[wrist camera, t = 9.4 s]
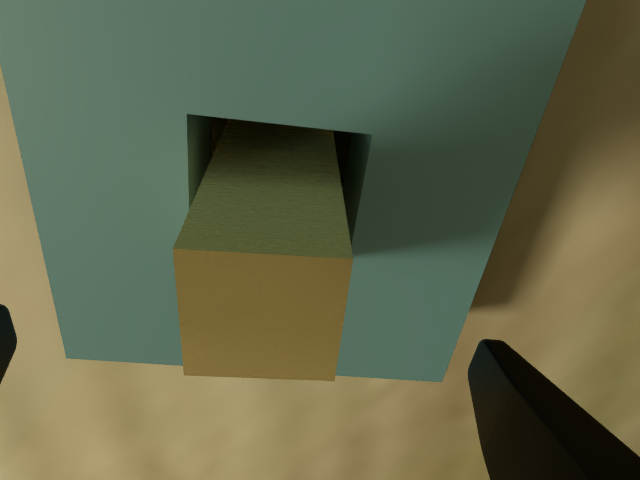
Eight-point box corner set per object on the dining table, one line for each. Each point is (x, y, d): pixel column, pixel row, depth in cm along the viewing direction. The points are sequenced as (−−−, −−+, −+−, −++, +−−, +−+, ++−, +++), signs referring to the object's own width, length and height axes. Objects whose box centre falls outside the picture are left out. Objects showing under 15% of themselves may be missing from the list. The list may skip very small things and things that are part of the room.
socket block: (528, -36, 14) (598, -30, 11) (420, 313, 22) (441, 382, 18) (47, -108, 13) (-42, -127, 10) (105, 289, 20) (66, 358, 17)
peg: (330, 115, 17) (353, 259, 9) (321, 200, 18) (334, 381, 11) (233, 107, 16) (172, 248, 9) (233, 194, 18) (183, 375, 11)
